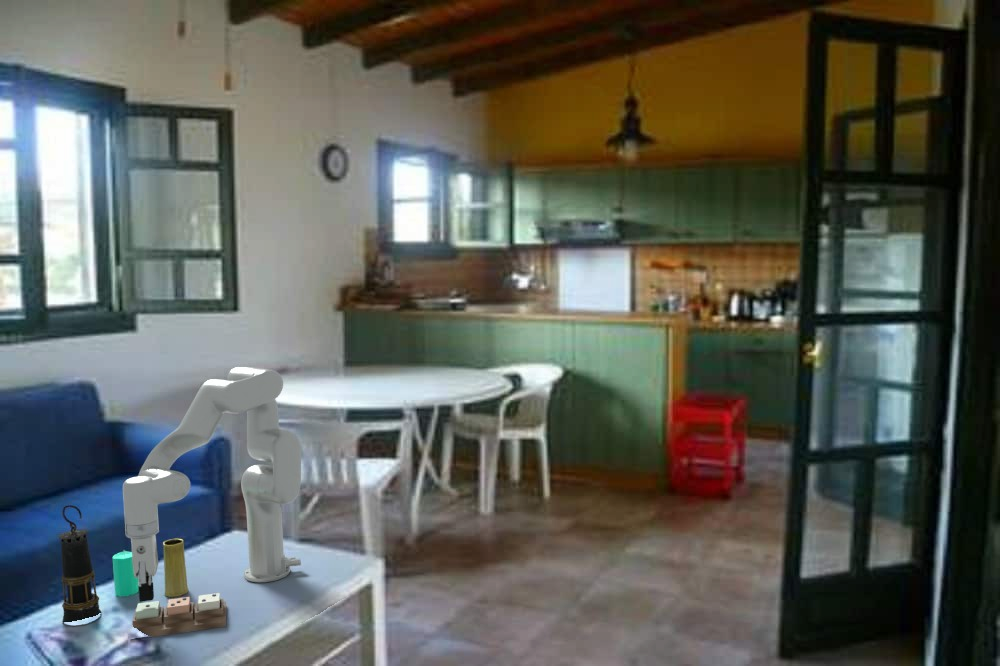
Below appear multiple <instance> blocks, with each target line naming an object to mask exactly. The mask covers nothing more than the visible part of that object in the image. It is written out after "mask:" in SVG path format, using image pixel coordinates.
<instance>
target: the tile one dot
mask: <svg viewBox="0 0 1000 666" xmlns="http://www.w3.org/2000/svg"><path fill="white" fill-rule="evenodd" d="M160 607H161V606H160V600H154V601H153V600H152V601H145V602H140V603H139V602H138V603H137V606H136V608H135V610H136V620H138V619H145V618H152V617H159V612H160Z"/></svg>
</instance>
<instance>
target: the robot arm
mask: <svg viewBox="0 0 1000 666" xmlns="http://www.w3.org/2000/svg"><path fill="white" fill-rule="evenodd" d="M226 378H227V379H221V378H220V379H219V378H217V379H216V378H213V379H208V380H207V381H205V382H204V383H202V385H201V386H200V388H199V390H198V391H197V393H196V395H195V397H194V398H193V400H192V401H191V404H190V406H189V408H188V409H187V411H186V413H185V415H184V417H183V418H182V420H181V422H180V424H179V425H178V427H177V428H176V429H175V430H173V431H172V432H171V433H169V434H168V435H167V436H165V437H164V438H162V440H161V441H159V443H157V444H156V445H155V446H154V448H152V450H151V451H150V453H149V454H148V455H147V457H146V458H145V461H144V463H143V465H141V468H140V469H139V473H138V475H137V476H133V477H130V478H128V479H126V480H125V481H124V482H123V484H122V497H123V498H122V501H123V513H124V525H125V526H124V528H125V529H124V530H125V537H126V538H128V539H130V542H131V543H130V544H131V552H132V562H133V572H134V577H135V578H137V577H138V584H139V591H138V596H139V597H138V598H139V602H140V603H144V602H152V601H153V600H154V597H155V594H154V593H155V592H154V581H153V577H155V576H156V575H157V570H158V566H159V557H158V549H157V548H158V547H157V546H158V545H157V536H156V535H157V534H159V532H160V530H159V528H160V527H159V526H160V525H159V514H158V513H159V511H158V505H159V504H166V503H167V504H168V503H174V502H177V501H181V500H182V499H184V498H185V497H186V496H187V495H188V494H189V492H190V489H191V481H190V478H189V477H188V475H186V474H184V473H183V472H180V471H176V470H172V469H171V467H172V466H173V464H174V463H175V462H176V460H178V458H180V457H181V456H183V455H184V454H186V453H188V452H189V451H192V450H194V449H197V448H200V447H202V446H204V445H205V446H206V444H208V443H209V442H210V441H211V439H212V437H213V435H214V434H215V432H216V429H217V428H218V425H219V424H220V422H221V420H222V419H223V417H224V415H225V413H226V414H235V415H237V414H242V413H245V412H246V414H247V415H246V416H247V421H246V424H247V425H246V436H247V437H246V448H247V449H246V450H247V453H248V455H249V456H250V458H252V459H253V460H257V461H261V462H266V463H270V464H272V465H267V464H254V465H251V466H249V467H248V468H246V470H244V472H243V474H242V476H241V482H240V485H241V486H240V487H241V492H242V496H243V499H244V503H245V512H246V526H247V527H246V529H247V543H248V544H247V545H248V546H247V547H248V562H249V563H248V566H249V567H248V568H246V569H245V570H244V573H243V575H244V576H243V577H244V578H245V580H247V581H249V582H253V583H268V582H269V583H270V582H274V581H275V582H276V581H279V580H282V579H284V578H286V577H288V575H289V574H290V572H291V567H298V566H302V562H301V558H297V557H296V556H293V557H287V556H286V554H285V551H284V534H283V533H284V531H283V514H282V508H281V505H287V504H290V503H292V502H294V501H296V498H297V497H298V495H299V493H300V490H301V486H302V485H301V484H302V483H301V481H302V444H301V441H300V439H299V437H298V436H297V435H296V433H295V432H293V431H291V430H288V429H284V428H283V429H282V428H280V421H279V420H280V418H279V406H278V402H277V400H276V399H277V398H278V397H279V396H280V395H281V393H282V391H283V389H284V381H283V380H284V379H283V377H282V376H281V374H280V373H279V372H278V371H276V370H274V369H270V368H263V367H262V368H261V367H260V368H259V367H254V366H237V367H234V368H232V369H231V370H229V372H228V374H227V377H226Z"/></svg>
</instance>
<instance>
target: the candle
mask: <svg viewBox="0 0 1000 666" xmlns="http://www.w3.org/2000/svg"><path fill="white" fill-rule="evenodd" d="M111 559H112V569H113V571H112V572H113V583H114V594H115V596H116V597H121V598H122V596H123V597H128V596H129V595H130V596H133V595H135V594H137V593H139V580H138V577H137V578H135V577H134V572H133V562H132V551H127V550H123V551H121V552H118V553H116V554H114V555H113V556H112V558H111Z"/></svg>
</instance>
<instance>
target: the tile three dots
mask: <svg viewBox="0 0 1000 666" xmlns="http://www.w3.org/2000/svg"><path fill="white" fill-rule="evenodd" d="M190 603H191V598H190V596H187V597H186V596H185V597H184V596H183V597H178V598H177V597H175V598H169V599H168V602H167V605H166V606H167V612H168V615H175V614H182V613H190Z"/></svg>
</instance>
